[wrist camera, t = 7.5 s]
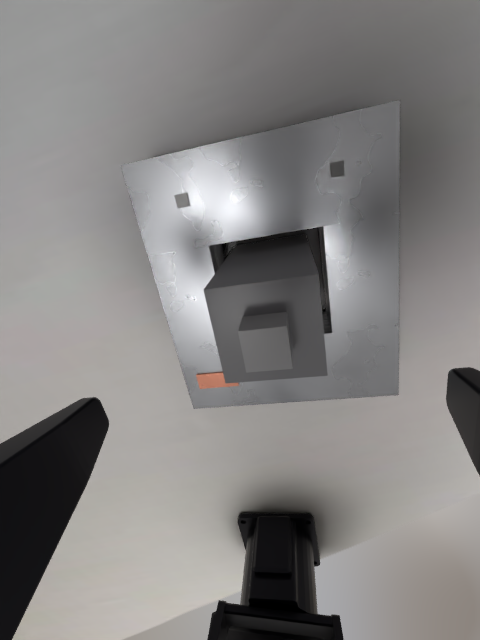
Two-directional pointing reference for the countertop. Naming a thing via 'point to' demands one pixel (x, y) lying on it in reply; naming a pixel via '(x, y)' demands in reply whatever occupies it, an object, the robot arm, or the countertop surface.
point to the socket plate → (274, 218)
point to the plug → (268, 312)
